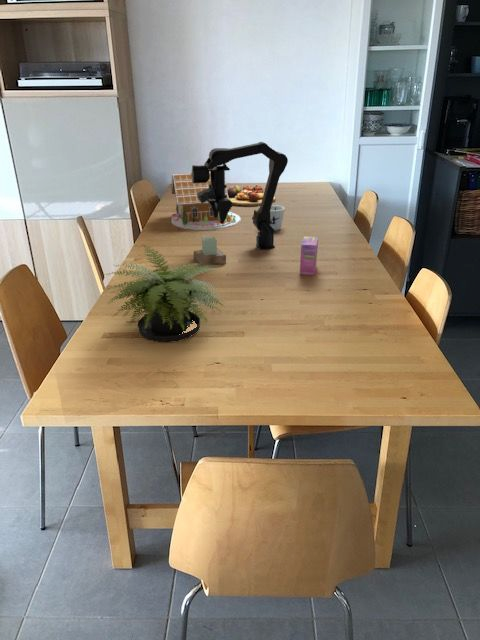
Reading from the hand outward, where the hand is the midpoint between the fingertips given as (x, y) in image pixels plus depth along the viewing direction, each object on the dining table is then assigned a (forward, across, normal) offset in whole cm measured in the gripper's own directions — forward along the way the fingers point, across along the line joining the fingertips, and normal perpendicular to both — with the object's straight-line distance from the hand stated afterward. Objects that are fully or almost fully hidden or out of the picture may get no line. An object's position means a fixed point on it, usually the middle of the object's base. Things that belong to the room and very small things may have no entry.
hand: (218, 220), depth 215 cm
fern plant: (+13, +64, -35) cm, 74 cm away
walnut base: (+14, +12, -8) cm, 19 cm away
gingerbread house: (+13, -48, +7) cm, 50 cm away
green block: (+10, +12, -8) cm, 17 cm away
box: (+13, +34, +25) cm, 44 cm away
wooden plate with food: (+14, -81, +42) cm, 92 cm away
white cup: (+13, -24, +35) cm, 44 cm away
